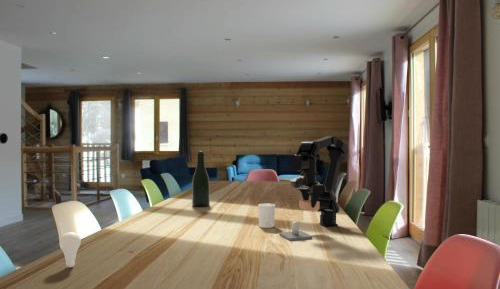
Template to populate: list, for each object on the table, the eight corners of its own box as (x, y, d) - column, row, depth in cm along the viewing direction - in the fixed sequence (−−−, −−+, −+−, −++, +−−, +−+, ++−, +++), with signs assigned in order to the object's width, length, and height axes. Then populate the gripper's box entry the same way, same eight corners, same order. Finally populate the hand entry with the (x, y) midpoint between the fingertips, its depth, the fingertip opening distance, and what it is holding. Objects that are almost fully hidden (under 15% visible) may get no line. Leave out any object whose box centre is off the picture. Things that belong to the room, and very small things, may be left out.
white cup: (273, 228, 177) (273, 206, 177) (256, 228, 179) (256, 205, 179) (276, 225, 185) (276, 203, 185) (259, 224, 186) (259, 203, 186)
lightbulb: (64, 264, 127) (63, 230, 127) (83, 264, 128) (83, 229, 128) (56, 270, 121) (56, 234, 121) (77, 270, 122) (76, 234, 122)
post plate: (301, 233, 169) (301, 219, 169) (312, 238, 159) (312, 223, 159) (279, 235, 165) (279, 220, 165) (289, 240, 156) (289, 225, 156)
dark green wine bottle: (213, 205, 241) (212, 150, 241) (202, 207, 233) (201, 151, 232) (199, 203, 247) (199, 150, 247) (188, 206, 238) (188, 151, 238)
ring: (312, 207, 176) (312, 199, 176) (319, 209, 170) (319, 201, 170) (299, 207, 174) (299, 200, 174) (306, 210, 168) (306, 202, 168)
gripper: (283, 169, 178) (283, 204, 178) (302, 172, 160) (302, 211, 161) (305, 168, 182) (305, 202, 182) (326, 171, 164) (326, 209, 164)
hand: (309, 206), depth 172 cm, fingers closed on ring, 6 cm apart
